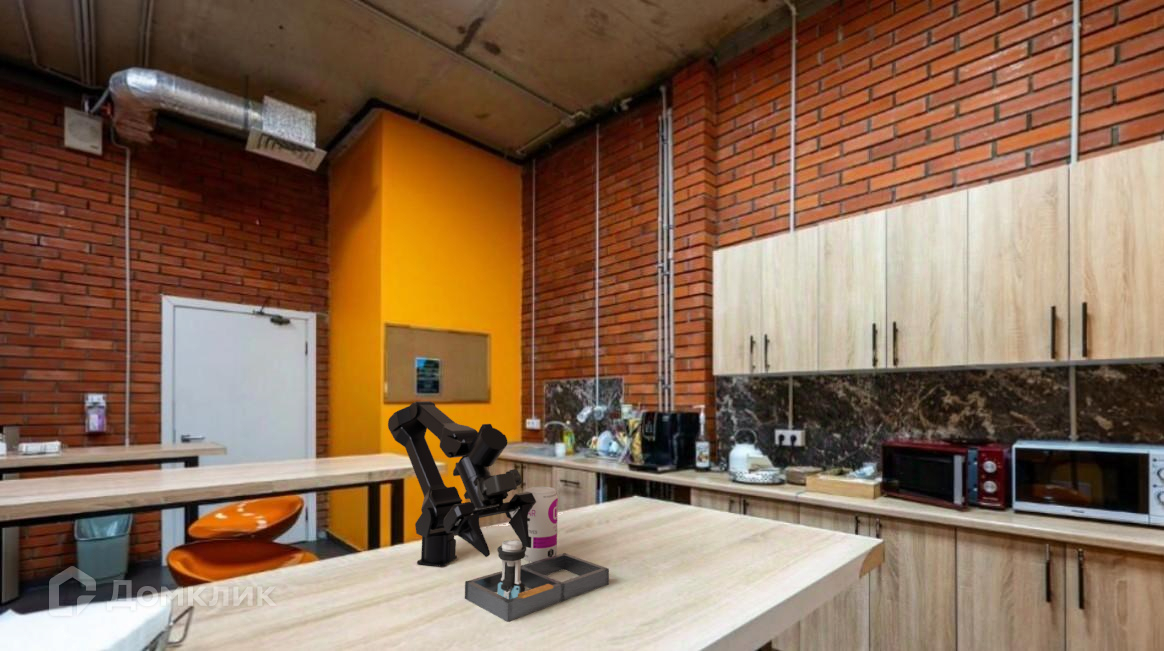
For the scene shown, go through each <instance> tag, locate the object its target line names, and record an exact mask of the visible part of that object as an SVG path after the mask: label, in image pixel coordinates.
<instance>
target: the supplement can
mask: <svg viewBox="0 0 1164 651" xmlns="http://www.w3.org/2000/svg"><path fill="white" fill-rule="evenodd" d="M524 492H530V493H532V494H533V496H534V498H535V500H536V503H535V504H534V505H533V507H532V509H531V510H530V511H529V512H528V533H529V545H528V546H527V547H526V551H525V557H524V558H523V559H524V560H526V561H527V562H530V563H531V562H535V561H538V560H542V559H545V558H549V557H552V556H556V555H558V515H559V514H558V509H559V508H558V507H559V506H558V504H559V496H558V494H557V491H556V488H554V487H552V486H533V487H532V486H531V487H526V488H525V489H524ZM522 545H523V546H524V544H523V543H522Z"/></svg>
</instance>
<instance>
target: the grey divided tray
mask: <svg viewBox="0 0 1164 651" xmlns="http://www.w3.org/2000/svg"><path fill="white" fill-rule="evenodd" d="M561 571H566V572H568V573H572V574H574V575H577V576H575V577H573V578H570V579H566V580H563V581H559V580H556V579H554V578H553V577H549V576H548V575H552V574H554V573H557V572H558V573H559V572H561ZM609 577H610V568H608V567H606V566H602V565H599V564H598V563H594V562H591V561H588V560H585V559H582V558H580V557H577V556H575V555H573V554H568V553H565V552H562V553H560V554H557V555H556V556H552V557H549V558H545V559H542V560H538V561H535V562H531V561H530V562H527V563H524V564H521V569H520V581H521V583H523V584H525V588H526V587H527V589H528V588H529V589H528V590H525V592H522V593H519V594H518V597H515V598H512V599H507V598H505V597H503V596H501V595H499V594H498V583H500V582H502V581H501V578H502V570H501V571H497V572H494V573H490V574H486V575H483V576H479V577H475V578H473V579H470V580H465V582H464V599H465V600H467V601H468V602H471V603H472V604H474V605H476V606H478V607H479V608H482V609H483V610H484V611H487V612H489V613H491V614H492V615H495V617H498V618H499V619H502V620H504V622H505V621H506V622H511V621H513V620H516V619H518V618H521V617H524V616H526V615H529V614H532V613H535V612H537V611H540V610H543V609H545V608H549V607H550V606H551V607H552V606H554V605H557V604H559V603H561V602H564V601H565V602H566V601H567V600H570V599H572V598H576V597H578V596H581V595H583V594H587V593H589V592H592V591H595V590H597V589H600V588H602V587H605V586H608V585H609V584H610V583H609V580H610V578H609Z"/></svg>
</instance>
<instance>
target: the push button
mask: <svg viewBox="0 0 1164 651" xmlns="http://www.w3.org/2000/svg"><path fill="white" fill-rule="evenodd" d="M496 549H497V553H498V558H499V559H500V560H501V561H502V562H501V563H502V564H501V571H502V578H501V581H502V582H500V583H498V591H497V594H499V595H501V596H503V597H505V598H507V599H512V598H515V597H518V594H519V593H522V592H525V591H526V586H525V584H523V583H521V581H520V569H521V565H522V562H521V561H522V559H524V557H525V551H526V547H525V546H523V545H522V542H521V541H520V540H519V539H518V540H516V539H509V540H504V541H502V545H500V546H498V547H497V548H496Z"/></svg>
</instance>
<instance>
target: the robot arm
mask: <svg viewBox="0 0 1164 651" xmlns="http://www.w3.org/2000/svg"><path fill="white" fill-rule="evenodd" d="M387 427H388V430H389V432H390V434H391V435H392V436H391V437H393V439H394V441H395V442H397V443H398V444H400V445H401V446H402V447H404V448H405V450H406V453H407V456H408V458H409V460H410V463H411V465H412V468H413V471H414V473H415V477H416V478H417V481H418V484H419V487H420V489H421V492H422V494H423V497H424V498H423V501H422V505H421V514H420V516H419V517H418V519H417V520H416V521H415V524H414V525H415V533H416V534H417V535H418V536H421V554H420V555H421V556H420V559H419V560H417V561H416V564H417V565H423V566H431V567H432V566H433V567H441V568H442V567H445V566H447V565H449V564H450V563H451V562H453V561H454V560H457V558H458V556H457V555H456V553H457V551H456V549H457V539H455V536H458V537H460V538H461V539H463V541H465V542H467V543H468V544H470V545H471V546H472V547H473V548H475V549H476V550H477V551H478V552H479V553H480V554H481V555H483V556H484V557H485V558H488V557H489V556H490V554H491V552H490V548H489V545H488V542H487V540H486V538H485V536H484V533H483V531H482V528H481V526H480V519H481V518H486V517H492V516H496V515H503V514H505V516H506V517H507V518H508V519H509V521H508V524H509V525H510V527H511V528H512V530H513V531H514V533H515V534H516V536H517V538H518V540H519V541H521V542H522V543H523V544H524V546H525V547H527V546H528V545H529V533H528V512H529V511H530V510H531V509H532V507H533V505H534V504H535V503H536V500H535V498H534V496H533V494H532V493H530V492H525V491H524V492H520V493H519V492H518V493H515V494H514V495H513V496H512V498H511V499H510V500H509V501H507V502H506V501H505V502H504V500H506V499H507V498H508V497H509V494H508V493H509V492H512V491H513V490H514V491H515V490H517V489H518V486H520V485H521V484H522V481H523V480H522V476H521V474H520V472H519V471H518V469H516V468H515V469H513V468H512V469H509V471H506V472H505V473H499V474H494V475H492V474H491V472H490V470H489V467H491V466H494V464H495V463H496V462H497V460H498V458H499V457H500V456H501V454H502V453H503V451H504V450H505V449H506V448H507V446H508V438H507V436H506V435H505V434H504V433H503V432H502V431H501V430H499V429H497V428H495V427H493V425H492V424H491V423H483V424H481V426H480V428H479V430H476V429H475V428H472V426H471V427H470V426H468V425H463V424H459V423H457V422H455V421H454V420H453V419H452V418H450V417H449V416H448V415H446V414H445V412H444V411H442V410H441V409H439V408H438V407H437V406H436V404H435V403H434V402H432V401H431V400H428V401H425V400H423V401H421V400H420V401H415V402H412V403H411V404H409V406H406V407H403V408H401V409H399V410H397V411H395V412H393V414H392V415H391V416H390V417H389V418H388V421H387ZM427 430H429V431H430V432H431V433H432V434H433V435H434V436H435V437H437V439H438V440H439V449H440V450H441V451H442V452H443V454H444V455H445V456H446V457H447V458H449V459H451V458H460V459H459V460H458V461H457V462H456V463H455V467H454V469H453V470H452V476H453V477H458V476H459V477H460V479H461V481H462V484H463V487H464V488H465V492H464V494H463V497H464V499H465V500H468V499H469V501H467V502H463V499H462V498H461V496H460V493H459V491H458V489H457V487H455V486H447V485H445V483H444V480H443V477H442V475H441V473H440V470H439V468H438V466H437V463H436V461H435V459H434V456H433V454H432V451H431V450H430V449H431V448H430V447H429V445H428V442H427V440H426V432H427Z"/></svg>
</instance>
